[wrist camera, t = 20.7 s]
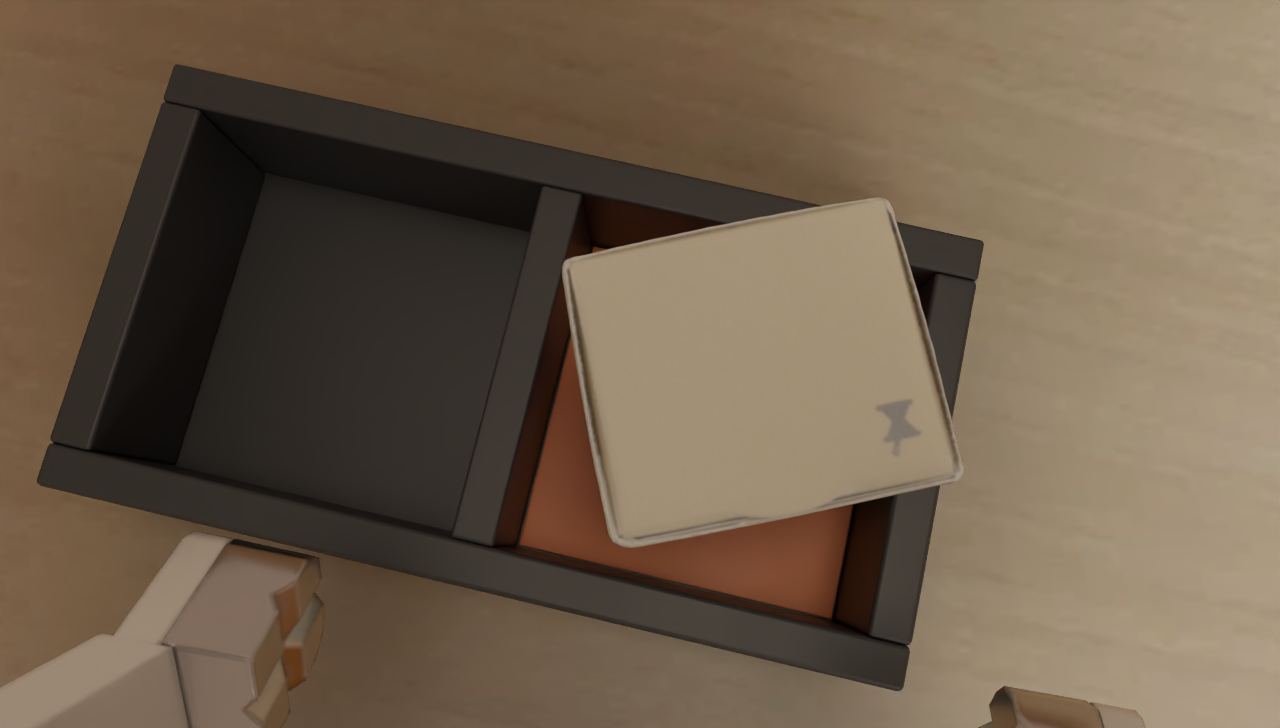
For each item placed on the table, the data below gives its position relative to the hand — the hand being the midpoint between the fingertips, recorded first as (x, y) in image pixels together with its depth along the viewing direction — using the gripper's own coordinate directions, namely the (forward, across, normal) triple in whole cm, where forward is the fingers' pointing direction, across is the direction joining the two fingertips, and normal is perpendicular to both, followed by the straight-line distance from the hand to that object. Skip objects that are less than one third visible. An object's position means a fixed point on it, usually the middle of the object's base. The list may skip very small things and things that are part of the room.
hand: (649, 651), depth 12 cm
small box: (+9, -1, +4) cm, 10 cm away
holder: (+10, +3, +4) cm, 11 cm away
